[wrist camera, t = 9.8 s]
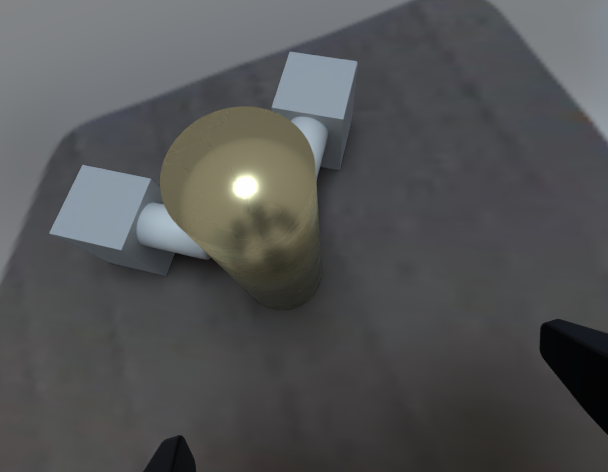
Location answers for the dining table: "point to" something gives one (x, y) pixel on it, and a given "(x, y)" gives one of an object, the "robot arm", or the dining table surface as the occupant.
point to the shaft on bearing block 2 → (319, 103)
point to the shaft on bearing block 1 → (122, 222)
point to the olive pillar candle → (249, 201)
